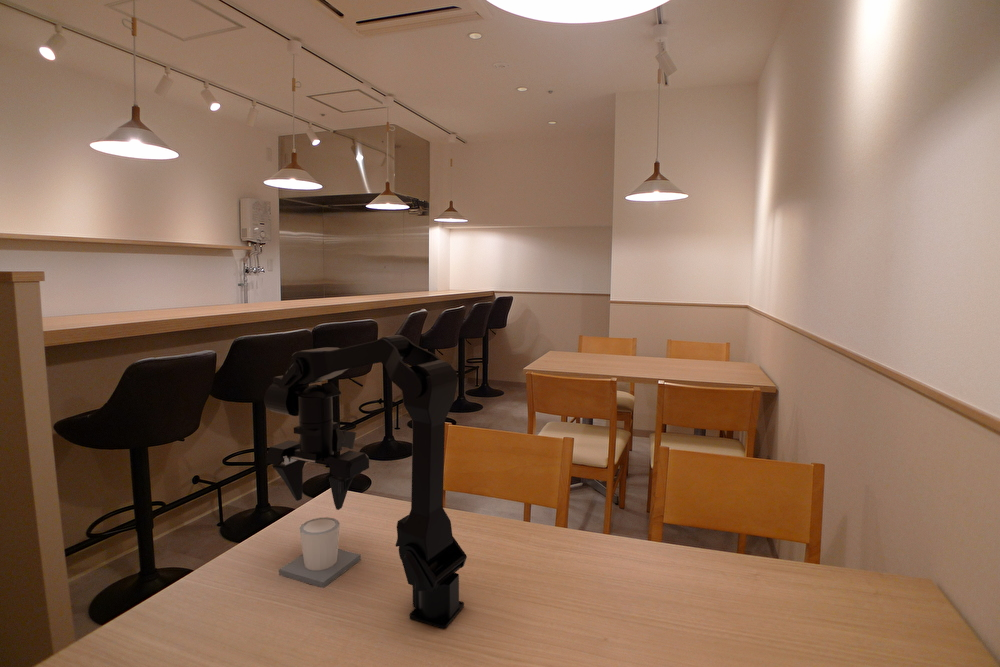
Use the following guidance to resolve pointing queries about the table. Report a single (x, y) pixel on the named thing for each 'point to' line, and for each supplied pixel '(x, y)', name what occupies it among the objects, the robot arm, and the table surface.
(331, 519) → the white cup
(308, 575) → the slate plate
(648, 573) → the table surface
